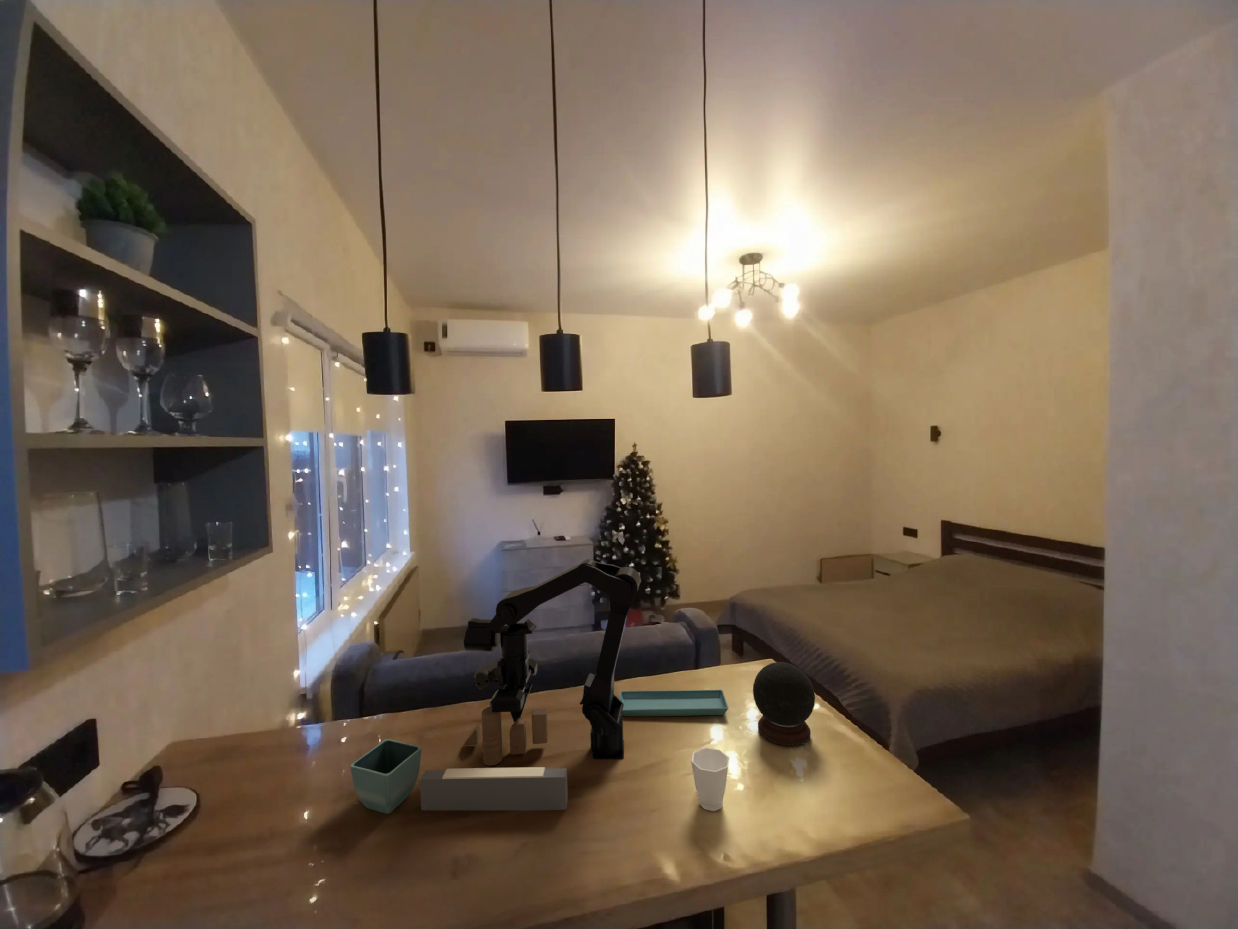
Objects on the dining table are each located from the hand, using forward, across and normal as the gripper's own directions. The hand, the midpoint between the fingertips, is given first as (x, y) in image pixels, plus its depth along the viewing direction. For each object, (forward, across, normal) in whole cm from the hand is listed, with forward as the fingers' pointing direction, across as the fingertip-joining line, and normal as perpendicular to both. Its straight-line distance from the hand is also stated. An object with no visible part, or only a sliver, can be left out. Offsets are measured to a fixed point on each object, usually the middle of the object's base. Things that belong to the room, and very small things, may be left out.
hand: (516, 722), depth 109 cm
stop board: (+5, +19, 0) cm, 19 cm away
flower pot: (+5, +18, -20) cm, 27 cm away
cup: (+5, +16, +39) cm, 43 cm away
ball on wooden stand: (+5, -4, +59) cm, 59 cm away
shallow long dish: (+6, -15, +35) cm, 38 cm away
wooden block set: (+5, +3, -2) cm, 6 cm away
